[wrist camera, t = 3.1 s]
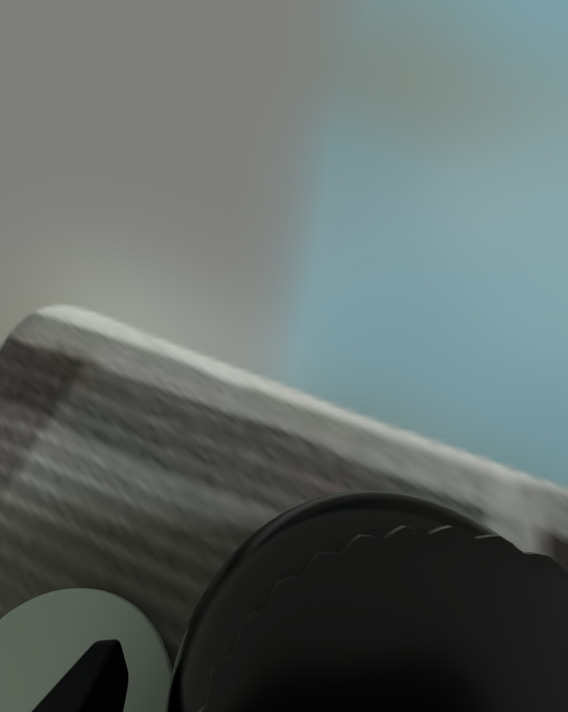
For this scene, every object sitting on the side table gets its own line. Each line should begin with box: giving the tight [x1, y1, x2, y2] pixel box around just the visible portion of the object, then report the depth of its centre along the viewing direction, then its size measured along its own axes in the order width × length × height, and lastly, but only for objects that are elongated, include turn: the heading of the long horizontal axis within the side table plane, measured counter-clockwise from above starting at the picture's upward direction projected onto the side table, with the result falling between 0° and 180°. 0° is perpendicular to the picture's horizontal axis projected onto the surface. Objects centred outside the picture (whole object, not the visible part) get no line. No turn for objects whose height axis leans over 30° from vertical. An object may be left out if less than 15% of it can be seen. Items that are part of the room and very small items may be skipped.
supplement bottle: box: [165, 490, 568, 712], centre depth 9 cm, size 7×7×12 cm
